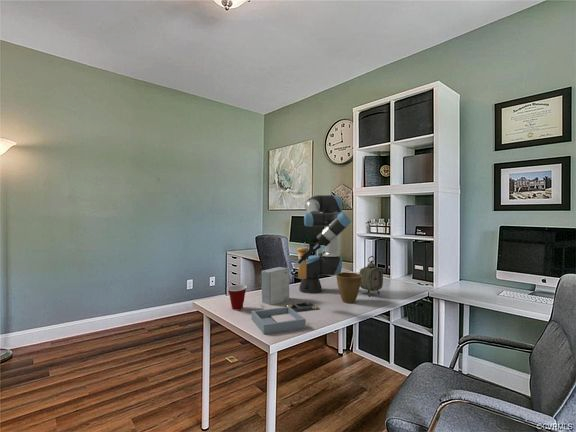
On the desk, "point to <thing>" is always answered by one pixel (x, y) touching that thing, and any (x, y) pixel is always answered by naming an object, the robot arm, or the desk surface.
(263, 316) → the pin tray
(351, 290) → the plant pot
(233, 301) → the plastic cup
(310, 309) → the tensioner bracket
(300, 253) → the pin
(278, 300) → the hard drive box
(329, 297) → the desk surface
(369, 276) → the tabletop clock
